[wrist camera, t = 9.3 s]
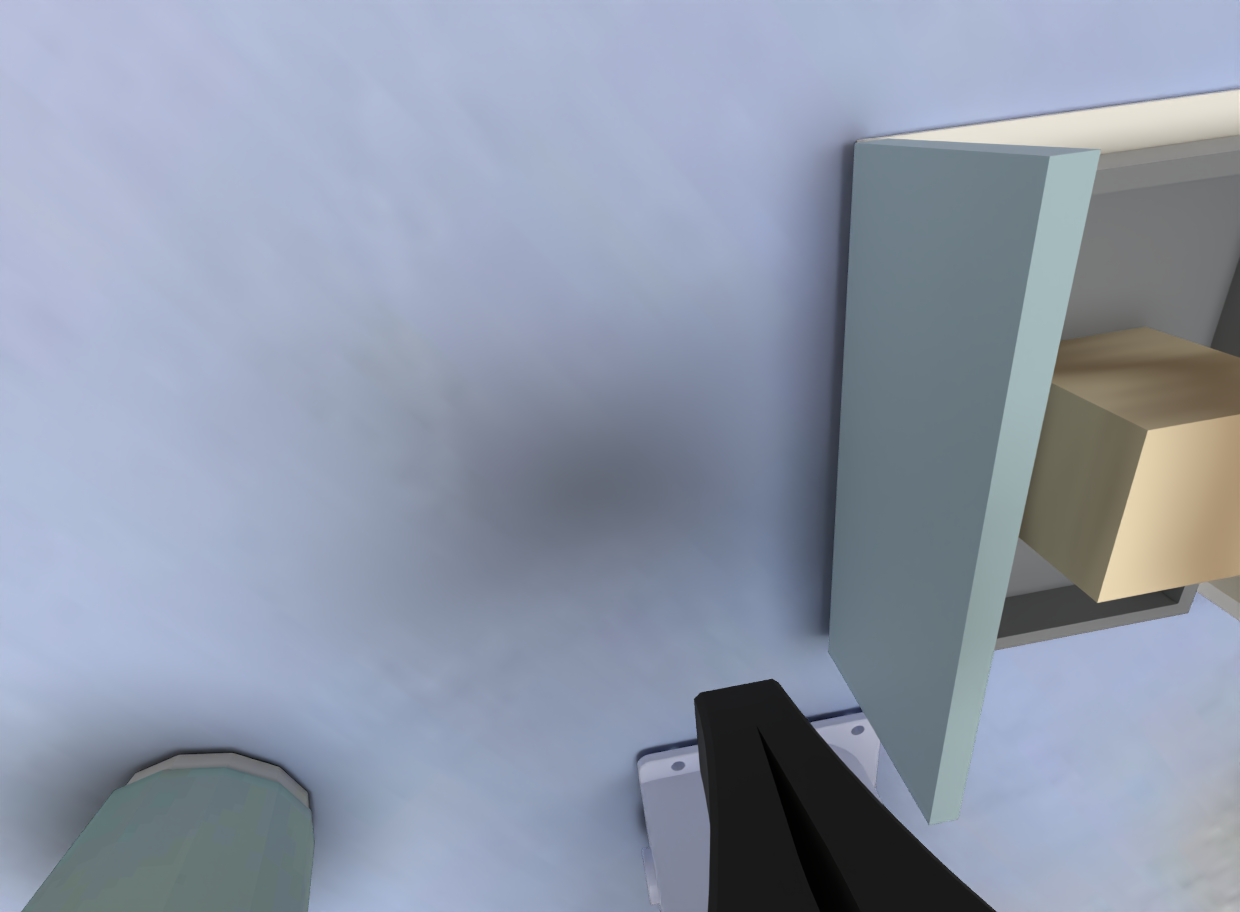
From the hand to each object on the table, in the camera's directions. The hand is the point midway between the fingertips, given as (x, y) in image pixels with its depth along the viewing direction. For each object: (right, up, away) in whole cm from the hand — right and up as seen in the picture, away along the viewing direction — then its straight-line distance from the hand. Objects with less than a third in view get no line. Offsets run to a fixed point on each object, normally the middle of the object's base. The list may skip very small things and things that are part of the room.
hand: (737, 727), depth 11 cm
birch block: (+10, +6, +8) cm, 14 cm away
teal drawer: (+10, +6, +9) cm, 15 cm away
